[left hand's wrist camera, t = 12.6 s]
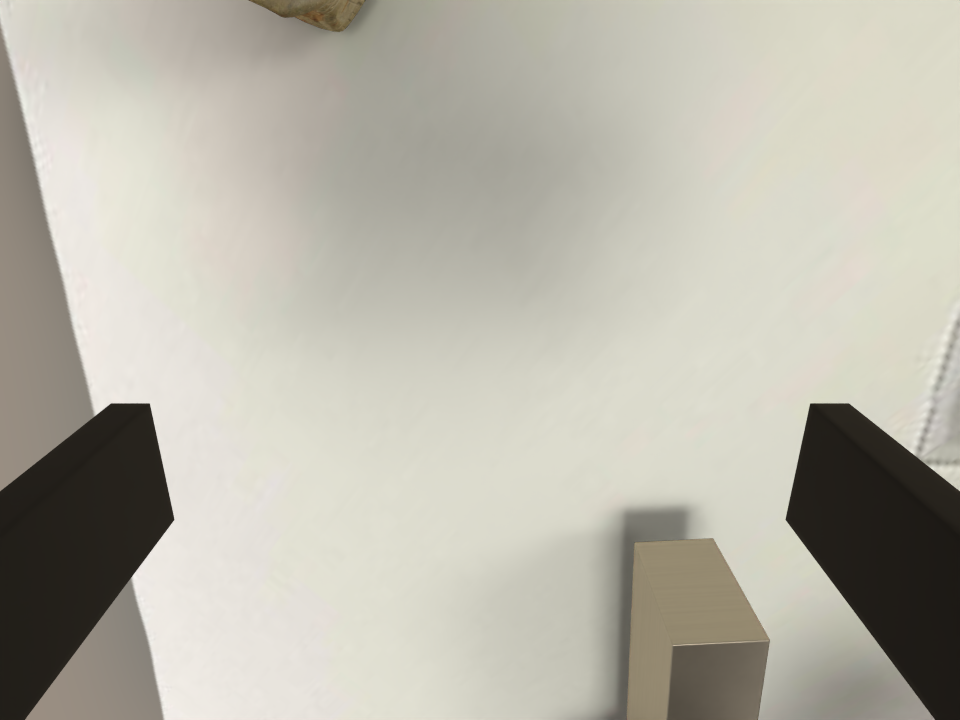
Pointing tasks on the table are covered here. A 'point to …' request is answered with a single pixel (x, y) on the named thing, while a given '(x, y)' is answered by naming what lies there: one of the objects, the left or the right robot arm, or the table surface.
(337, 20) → the sculpture
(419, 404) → the table surface
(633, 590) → the bar
